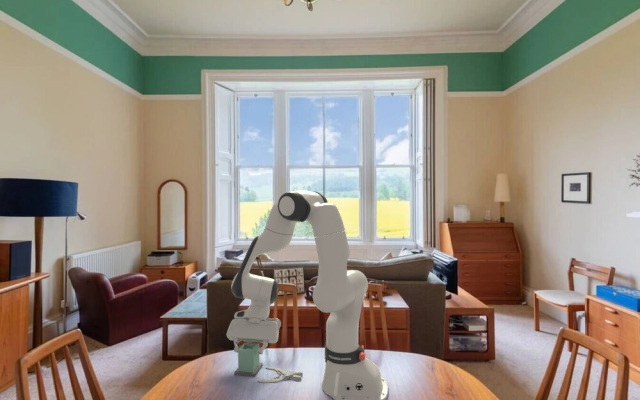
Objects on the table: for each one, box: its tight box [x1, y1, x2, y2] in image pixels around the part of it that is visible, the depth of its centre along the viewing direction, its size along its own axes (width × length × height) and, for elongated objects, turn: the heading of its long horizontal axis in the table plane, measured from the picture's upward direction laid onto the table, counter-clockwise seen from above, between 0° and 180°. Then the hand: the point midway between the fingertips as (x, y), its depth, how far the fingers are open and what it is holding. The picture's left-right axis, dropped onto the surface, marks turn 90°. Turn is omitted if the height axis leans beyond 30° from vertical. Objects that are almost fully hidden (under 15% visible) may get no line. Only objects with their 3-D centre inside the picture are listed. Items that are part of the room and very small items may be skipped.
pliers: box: [257, 366, 304, 384], centre depth 120 cm, size 10×2×15 cm
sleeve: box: [237, 341, 260, 372], centre depth 124 cm, size 6×6×8 cm
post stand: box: [234, 348, 264, 378], centre depth 124 cm, size 8×8×8 cm
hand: (248, 352), depth 124 cm, fingers open, 8 cm apart
